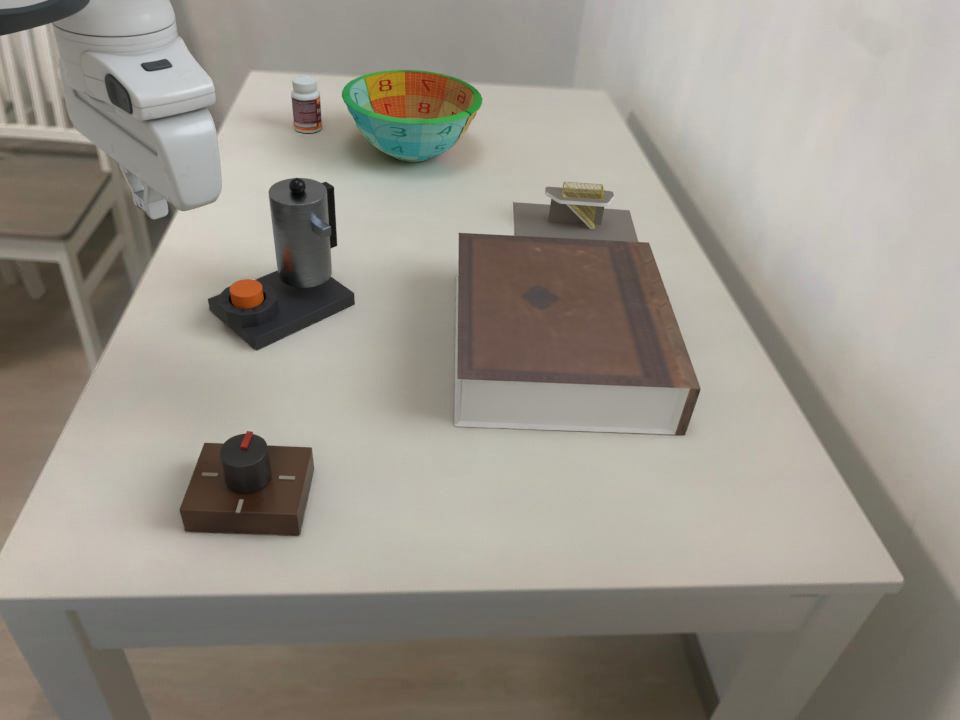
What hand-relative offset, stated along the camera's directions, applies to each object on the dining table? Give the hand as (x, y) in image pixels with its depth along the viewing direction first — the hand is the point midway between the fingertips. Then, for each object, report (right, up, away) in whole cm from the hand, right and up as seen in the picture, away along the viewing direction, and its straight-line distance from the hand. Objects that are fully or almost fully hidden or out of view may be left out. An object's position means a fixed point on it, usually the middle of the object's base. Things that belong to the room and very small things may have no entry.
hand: (152, 211), depth 70 cm
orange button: (+3, -7, +19) cm, 20 cm away
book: (+39, -12, +22) cm, 46 cm away
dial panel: (+9, -26, +1) cm, 28 cm away
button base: (+6, -7, +24) cm, 25 cm away
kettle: (+10, -3, +23) cm, 25 cm away
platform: (+44, +6, +44) cm, 62 cm away
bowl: (+18, +21, +59) cm, 65 cm away
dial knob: (+9, -24, -1) cm, 26 cm away
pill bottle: (0, +27, +64) cm, 69 cm away
